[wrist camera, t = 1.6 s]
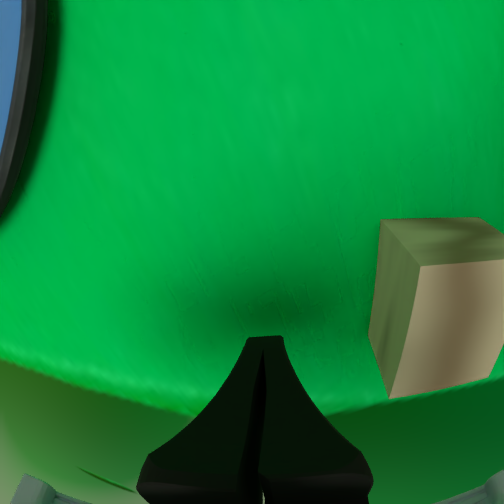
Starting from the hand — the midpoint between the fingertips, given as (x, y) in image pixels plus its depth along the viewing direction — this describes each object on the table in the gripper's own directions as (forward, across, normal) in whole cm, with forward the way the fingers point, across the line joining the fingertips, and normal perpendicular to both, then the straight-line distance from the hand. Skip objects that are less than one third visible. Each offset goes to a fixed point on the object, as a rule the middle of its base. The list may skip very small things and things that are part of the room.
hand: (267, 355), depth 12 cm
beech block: (+5, -9, 0) cm, 10 cm away
